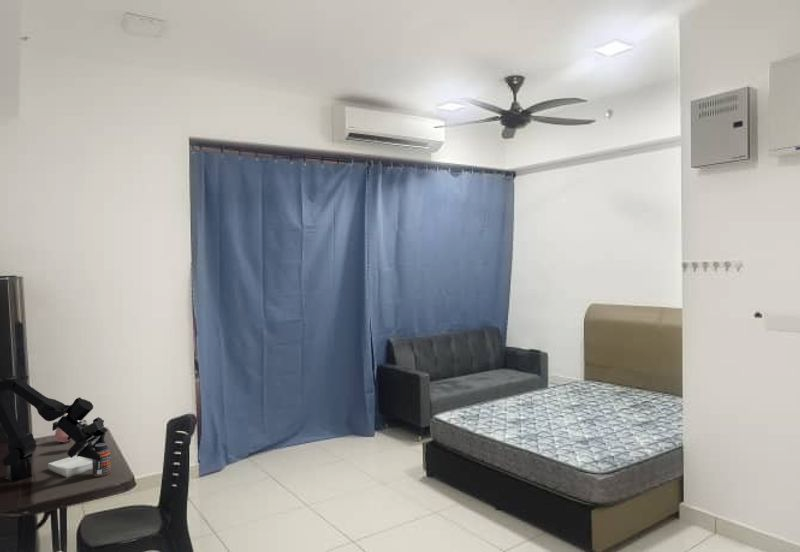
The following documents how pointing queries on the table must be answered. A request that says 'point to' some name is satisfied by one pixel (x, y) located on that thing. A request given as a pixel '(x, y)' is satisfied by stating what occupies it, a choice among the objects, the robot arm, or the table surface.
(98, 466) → the supplement bottle
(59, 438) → the pink vase
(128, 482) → the table surface
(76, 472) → the tray
